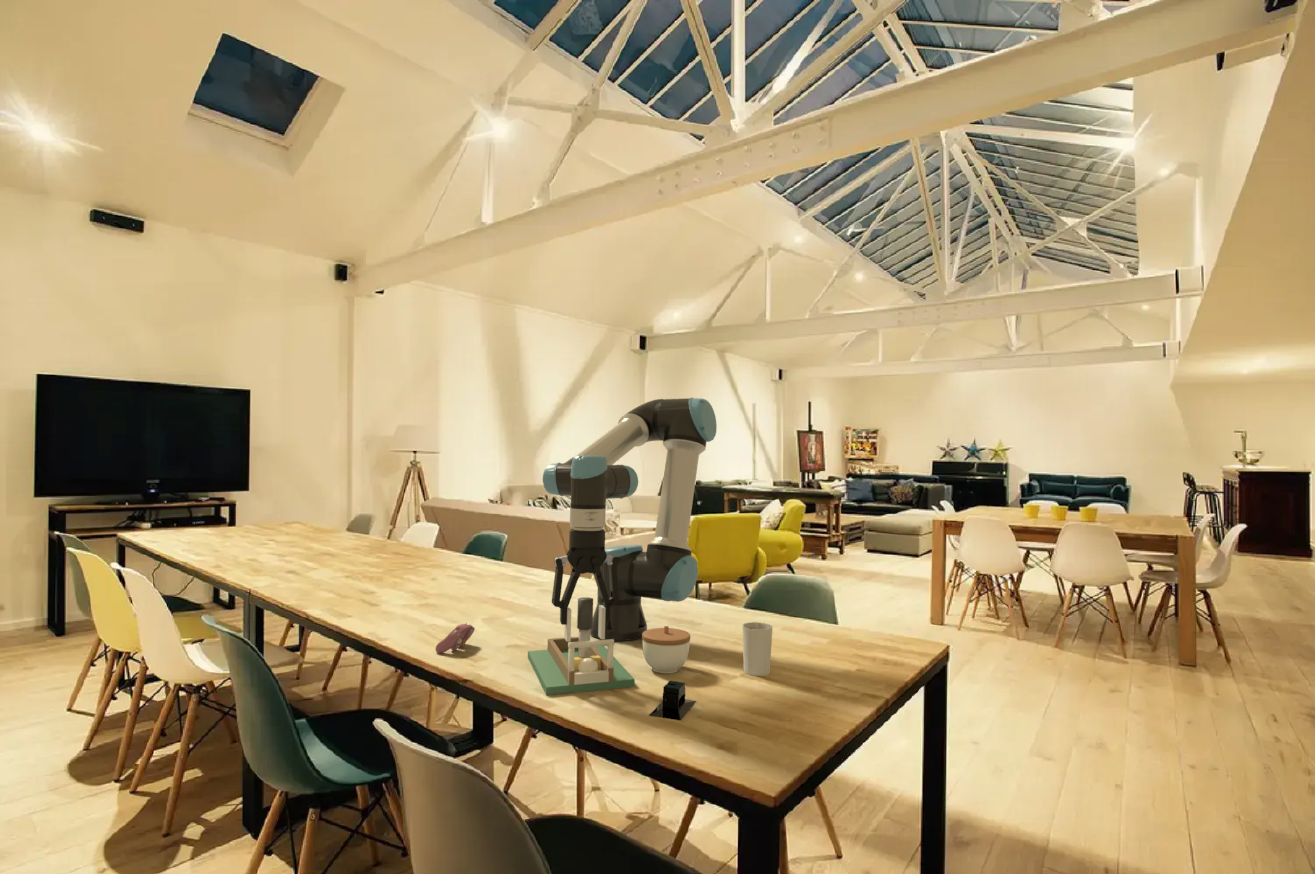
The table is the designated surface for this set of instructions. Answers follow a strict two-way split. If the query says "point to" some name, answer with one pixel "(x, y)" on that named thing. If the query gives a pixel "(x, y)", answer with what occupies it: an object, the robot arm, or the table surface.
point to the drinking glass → (757, 648)
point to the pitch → (559, 667)
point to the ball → (588, 665)
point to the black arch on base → (673, 702)
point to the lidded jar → (665, 648)
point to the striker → (585, 631)
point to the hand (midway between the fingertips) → (584, 638)
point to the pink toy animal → (455, 638)
